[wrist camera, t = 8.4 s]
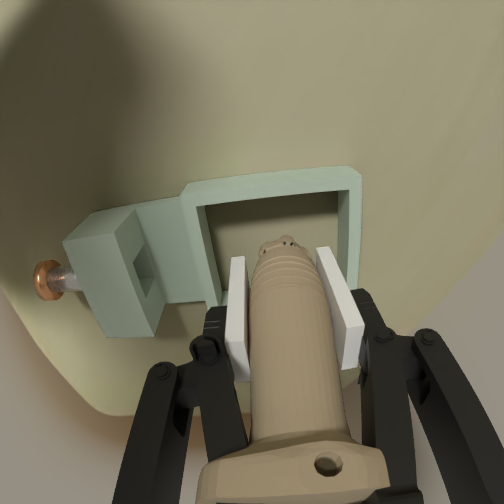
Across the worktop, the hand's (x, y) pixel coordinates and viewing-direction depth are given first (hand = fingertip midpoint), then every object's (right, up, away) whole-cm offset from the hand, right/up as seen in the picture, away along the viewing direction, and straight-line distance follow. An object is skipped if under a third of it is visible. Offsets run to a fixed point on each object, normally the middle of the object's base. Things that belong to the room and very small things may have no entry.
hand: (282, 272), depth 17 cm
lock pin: (-15, 0, +4) cm, 15 cm away
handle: (0, +1, +2) cm, 2 cm away
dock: (-4, +2, +4) cm, 6 cm away
